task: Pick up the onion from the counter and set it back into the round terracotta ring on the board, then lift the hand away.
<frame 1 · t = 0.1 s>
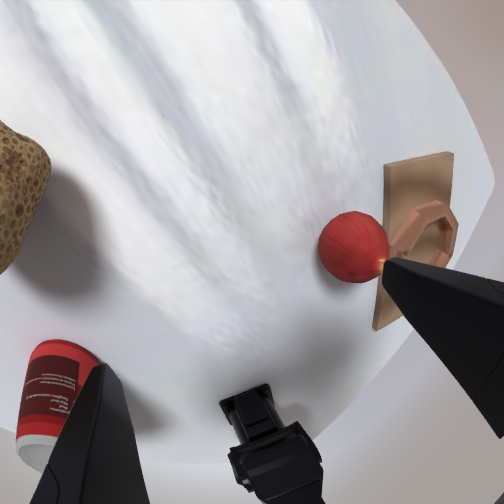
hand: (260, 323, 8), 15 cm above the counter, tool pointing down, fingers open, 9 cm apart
natural sponge: (7, 173, 15), on the counter
onion: (327, 229, 27), on the counter
onion holder: (414, 243, 33), on the counter
canned food: (66, 365, 23), on the counter
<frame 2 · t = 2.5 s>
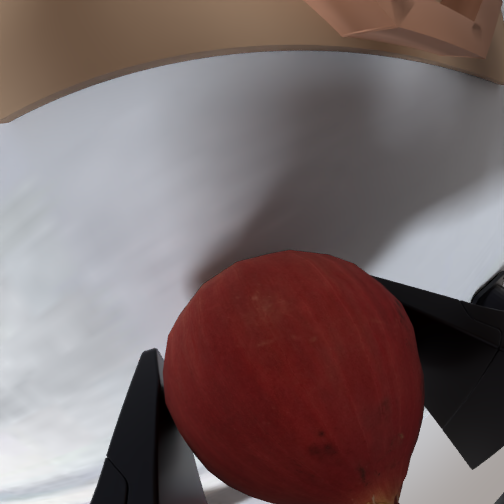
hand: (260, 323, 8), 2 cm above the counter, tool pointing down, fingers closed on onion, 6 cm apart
onion: (238, 288, 10), on the counter, touching gripper
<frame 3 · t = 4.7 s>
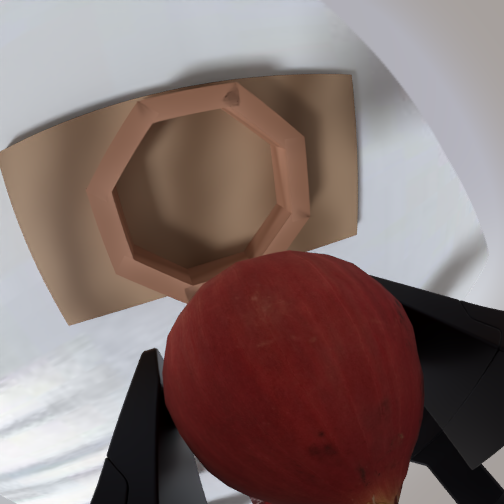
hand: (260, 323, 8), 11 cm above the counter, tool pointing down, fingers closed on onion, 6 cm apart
onion: (238, 288, 10), point 9 cm above the counter, touching gripper
onion holder: (197, 188, 17), on the counter
when the fingers open (4 cm above the counter, at t = 7.0 s): onion drops 1 cm, resting on onion holder.
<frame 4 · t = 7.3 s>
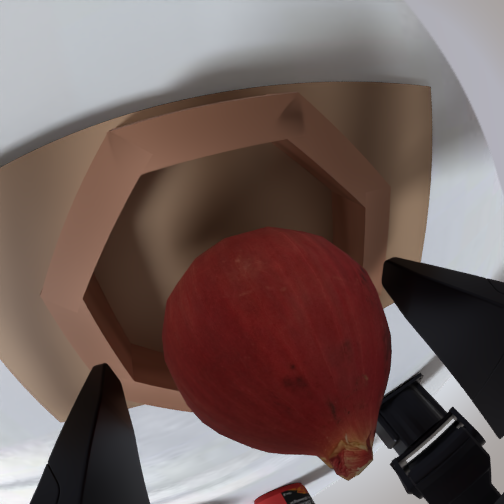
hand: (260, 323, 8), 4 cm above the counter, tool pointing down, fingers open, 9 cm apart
onion: (227, 268, 11), point 1 cm above the counter, touching onion holder
onion holder: (220, 257, 11), on the counter
canned food: (277, 492, 32), on the counter
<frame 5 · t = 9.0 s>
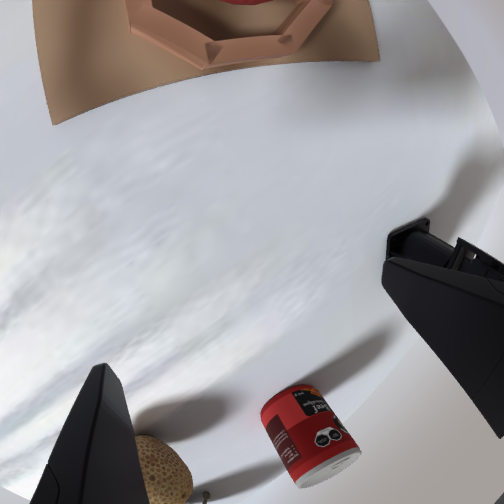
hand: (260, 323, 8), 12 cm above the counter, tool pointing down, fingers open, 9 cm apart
natural sponge: (140, 437, 27), on the counter
tabletop clock: (182, 499, 41), on the counter
canned food: (287, 401, 33), on the counter
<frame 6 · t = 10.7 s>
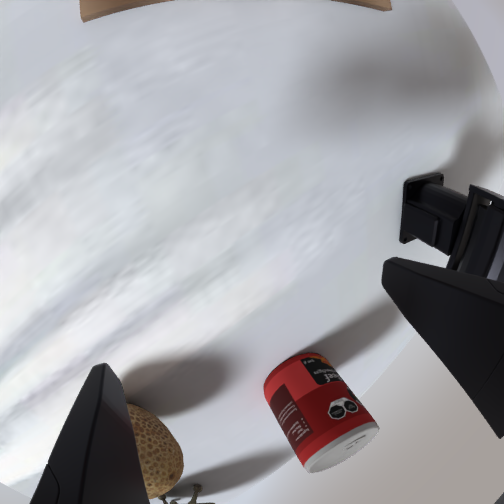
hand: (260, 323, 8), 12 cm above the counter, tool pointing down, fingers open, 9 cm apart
natural sponge: (125, 408, 24), on the counter
tabletop clock: (170, 492, 38), on the counter
canned food: (293, 374, 31), on the counter
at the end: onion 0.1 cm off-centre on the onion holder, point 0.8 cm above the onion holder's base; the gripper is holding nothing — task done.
